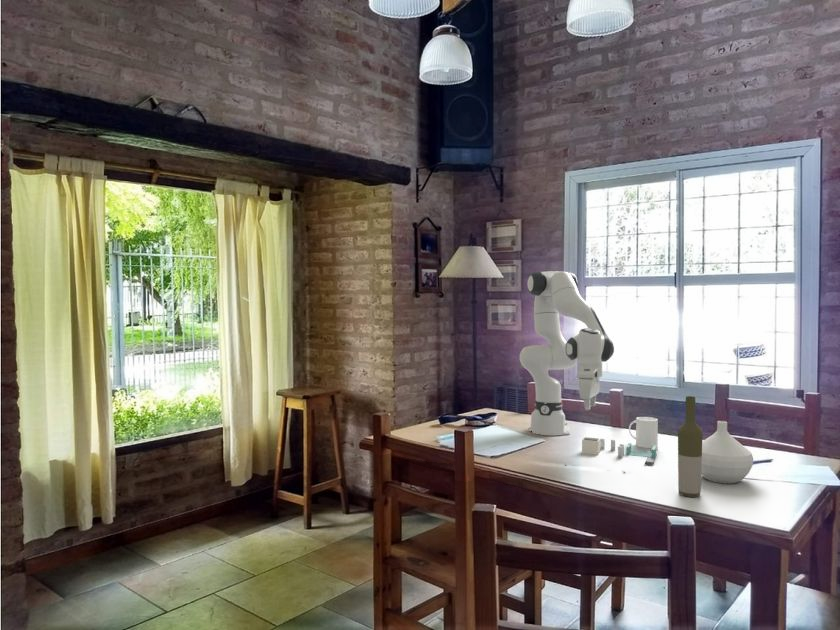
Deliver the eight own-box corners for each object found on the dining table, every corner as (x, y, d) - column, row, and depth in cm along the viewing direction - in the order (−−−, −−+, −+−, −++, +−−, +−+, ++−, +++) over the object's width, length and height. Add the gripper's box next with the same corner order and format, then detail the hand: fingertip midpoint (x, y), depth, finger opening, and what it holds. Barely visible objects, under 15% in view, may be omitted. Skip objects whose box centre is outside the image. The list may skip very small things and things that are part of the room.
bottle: (681, 489, 194) (682, 394, 193) (705, 494, 189) (706, 396, 188) (673, 495, 189) (674, 397, 188) (697, 500, 184) (698, 399, 183)
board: (586, 448, 246) (587, 435, 246) (656, 455, 235) (656, 442, 235) (579, 457, 233) (579, 443, 232) (653, 465, 221) (653, 451, 221)
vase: (750, 491, 192) (751, 430, 192) (687, 482, 202) (687, 423, 201) (754, 476, 208) (755, 420, 207) (695, 468, 217) (696, 414, 217)
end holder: (628, 450, 238) (628, 442, 238) (656, 453, 234) (656, 445, 234) (626, 454, 232) (626, 446, 232) (654, 457, 227) (654, 449, 227)
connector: (583, 450, 238) (584, 436, 238) (599, 452, 235) (600, 438, 235) (581, 452, 234) (582, 439, 234) (598, 454, 232) (598, 440, 231)
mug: (623, 446, 250) (624, 417, 249) (636, 443, 255) (636, 414, 254) (650, 452, 240) (650, 421, 240) (662, 449, 245) (662, 419, 245)
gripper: (587, 368, 245) (587, 403, 245) (575, 373, 226) (575, 411, 227) (603, 369, 242) (603, 404, 242) (593, 374, 224) (593, 412, 224)
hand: (590, 408), depth 234 cm, fingers open, 8 cm apart
